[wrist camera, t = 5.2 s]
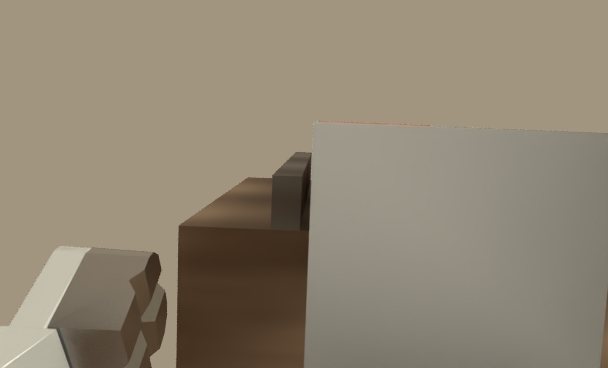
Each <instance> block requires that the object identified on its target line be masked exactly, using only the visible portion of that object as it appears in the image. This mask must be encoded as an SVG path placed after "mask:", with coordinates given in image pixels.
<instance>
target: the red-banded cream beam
mask: <svg viewBox="0 0 608 368" xmlns="http://www.w3.org/2000/svg"><path fill="white" fill-rule="evenodd" d="M312 152H313V153H312V175H311V201H310V226H309V251H308V276H307V301H306V326H305V352H304V368H600V363H601V352H602V342H603V332H604V321H605V311H606V301H607V291H608V133H592V132H591V133H590V132H567V131H566V132H565V131H542V130H517V129H491V128H467V127H441V126H430V125H406V124H404V125H403V124H379V123H353V122H328V121H327V122H326V121H319V122H314V125H313V150H312Z"/></svg>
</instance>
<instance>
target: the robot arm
mask: <svg viewBox="0 0 608 368" xmlns="http://www.w3.org/2000/svg"><path fill="white" fill-rule="evenodd" d="M160 273H161V265H160V261H159V256H158V254H156V253H154V252H145V251H132V250H118V249H105V248H82V247H70V246H60V247H59V248H57V249H56V250H54V251H53V252H52V254H51V255H50V257H49V259H48V261H47V262H46V264H45V265H44V267H43V269H42V270H41V272H40V274H39V275H38V277H37V279H36V280H35V282H34V284H33V285H32V287H31V289H30V291H29V293H28V294H27V296H26V297H25V299H24V301H23V302H22V304H21V306H20V307H19V309H18V311H17V312H16V314H15V316H14V317H13V319H12V321H11V322H10V324H9V326H0V368H152V367H151V362H150V356H151V355H152V354H154V353H155V352H156V351H157V350H159V349H160V346H161V343H162V339H163V336H164V332H165V325H166V318H167V300H166V293H165V290H164V289H163V288H162V287H161V286H160V285H159V284H158V283H157V282H158V279H159V276H160Z"/></svg>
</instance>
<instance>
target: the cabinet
mask: <svg viewBox="0 0 608 368" xmlns="http://www.w3.org/2000/svg"><path fill="white" fill-rule="evenodd" d="M311 154H312V153H305V152H296V153H295V154H294V155H293V156H292V157H291V158H290V159H289V160H287V162H286V163H284V164H283V166H281V168H279V169H278V170H277V171H276V173H275V174H274V175H273V176H272V177H273V178H249V177H248V178H247V179H245V180H244V181H242V182H241V183H239V184H238V185H236V186H235V187H234V188H232V189H231V190H229V191H228V192H227V193H225V194H224V195H222V196H221V197H219V198H218V199H216V200H215V201H214V202H212V203H211V204H209V205H208V206H206V207H205V208H204V209H202V210H201V211H199V212H198V213H196V214H195V215H193V216H192V217H190V218H189V219H188V220H186V221H185V222H183V223H182V224H181V225H179V238H178V239H179V241H178V298H177V358H176V360H177V361H176V368H304V352H305V326H306V301H307V276H308V251H309V226H310V201H311V180H310V179H311ZM600 368H608V291H607V301H606V311H605V321H604V332H603V342H602V352H601V363H600Z"/></svg>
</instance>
